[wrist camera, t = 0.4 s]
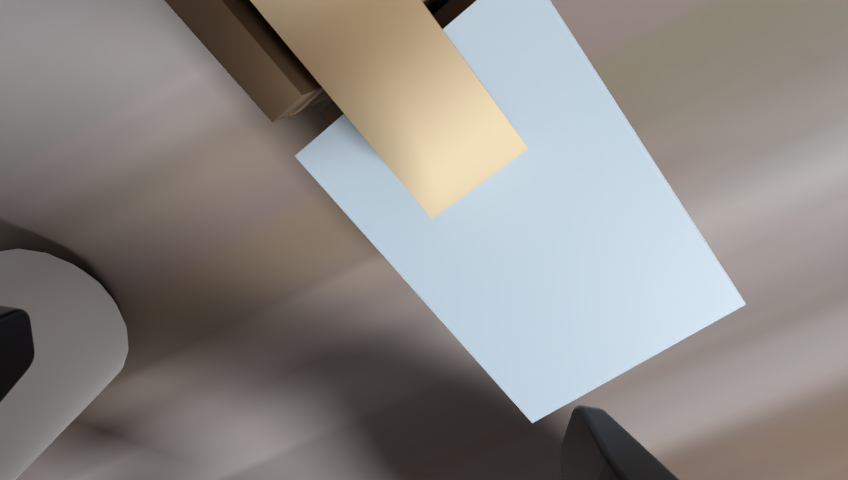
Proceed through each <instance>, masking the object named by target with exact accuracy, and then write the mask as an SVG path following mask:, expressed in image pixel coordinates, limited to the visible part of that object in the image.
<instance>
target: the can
mask: <svg viewBox="0 0 848 480" xmlns="http://www.w3.org/2000/svg"><path fill="white" fill-rule="evenodd" d="M0 305H2V306H8V307H14V308H19V309H23V310H25V311H26V312H27V313H28V314H29V316H30V320H31V327H32V335H33V342H34V349H35V355H34V359H33V362H32V364H31V366H30V368H29V369H28V370H27V371H26V373H25V374H24V375H23V376H22V377H21V379H20V380H19V381H18V382H17V383H16V385H15V386H14V387H13V388H12V389H11V391H10V392H9V393H8V394H7V395H6V397H5V398H4V399H3V400H2V401H1V402H0V480H16V479H17V477H18V476H19V475H20V474H21V473H22V472H23V471H24V470H25V469H26V468H27V467H28V466H29V465H30V464H31V463H32V462H33V461H34V460H35V459H36V458H37V457H38V456H39V455H40V454H41V453H42V452H43V451H44V450H45V449H46V448H47V447H48V446H49V445H50V444H51V443H52V442H53V441H54V439H55V438H56V437H57V436H58V435H59V434H60V433H61V432H62V431H63V430H64V429H65V428H66V427H67V426H68V425H69V424H70V423H71V422H72V421H73V420H74V419H75V418H76V417H77V416H78V415H79V414H80V413H81V412H82V411H83V410H84V409H85V408H86V407H87V406H88V405H89V404H90V403H91V401H92V400H93V399H94V398H95V397H96V396H97V395H98V394H99V393H100V392H101V391H102V390H103V389H104V388H105V387H106V386H107V385H108V384H109V383H110V382H111V381H112V380H113V379H114V378H115V376H116V375H117V374H118V373H119V372H120V371H121V370H122V369H123V366H124V363H125V360H126V356H127V353H128V350H129V348H128V337H127V327H126V325H125V323H124V320H123V318H122V316H121V314H120V312H119V309H118V307H117V305H116V303H115V302H114V300H113V298H112V297H111V296H110V295H109V294H108V292H107V291H106V290H105V289H104V288H103V286H102V285H101V284H100V283H99V282H98V281H96V280H95V279H94V278H92V277H91V276H90V275H88V274H87V273H86V272H84V271H83V270H82V269H79V268H78V267H76V266H75V265H73V264H71V263H69V262H66V261H64V260H62V259H59V258H57V257H55V256H52V255H50V254H48V253H44V252H37V251H30V250H24V249H13V250H6V251H0Z"/></svg>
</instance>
